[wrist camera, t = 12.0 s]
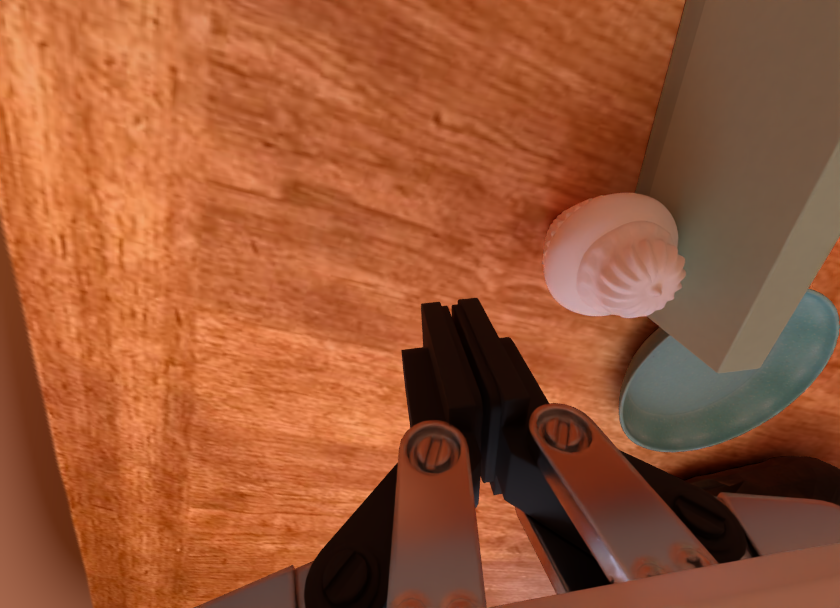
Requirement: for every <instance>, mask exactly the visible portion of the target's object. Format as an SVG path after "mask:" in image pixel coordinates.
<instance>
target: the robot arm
mask: <svg viewBox="0 0 840 608" xmlns="http://www.w3.org/2000/svg"><path fill="white" fill-rule="evenodd" d="M421 314H422V332H423V347H422V348H414V349H406V350H402V361H403V371H404V381H405V389H406V397H407V405H408V413H409V421H410V429H409V430H408V431H407V432H406V433H405V435H404V436H403V438H402V439H401V443H400V447H399V456H398V463H397V464H396V465H395V466H394V468H393V469H392V470H391V471H390V472H389V473H388V474H387V476H386V477H385V478H384V479H383V480H382V481H381V482H380V484H379V485H378V486H377V487H376V488H375V489H374V490H373V492H372V493H371V494H370V495H369V496H368V497H367V499H366V500H365V501H364V502H363V503H362V504H361V505H360V507H359V508H358V509H357V510H356V511H355V512H354V513H353V515H352V516H351V517H350V518H349V519H348V520H347V521H346V523H345V524H344V525H343V526H342V527H341V528H340V530H339V531H338V532H337V533H336V534H335V535H334V536H333V538H332V539H331V540H330V541H329V542H328V543H327V544H326V546H325V547H324V548H323V549H322V550H321V551H320V553H319V554H318V556H317V557H316V559H315V560H314V561H312V562H310V563H307V564H305V565H303V566H301V567H298V568H296V569H295V568H294V566H293V565H291V566H289V567H287V568H284V569H282V570H280V571H277V572H275V573H273V574H271V575H268V576H266V577H264V578H261V579H259V580H257V581H254V582H252V583H250V584H247V585H245V586H243V587H240V588H238V589H236V590H234V591H231V592H229V593H227V594H224V595H222V596H220V597H217V598H215V599H213V600H210V601H208V602H206V603H203V604H201V605H199V606H197V607H194V608H487V607H486V599H485V590H484V581H483V572H482V563H481V555H480V546H479V537H478V528H477V519H476V510H475V508H476V507H477V505H478V501H479V488H480V475H481V478H482V481H483V483H486V482H490V485H491V488H492V491H493V494H494V495H497V494H503V497H504V500H506V501H507V502H509V503H510V504H512V505H513V506H515V510H516V513H517V516H518V518H519V520H520V522H521V524H522V526H523V528H524V530H525V532H526V534H527V536H528V538H529V540H530V542H531V544H532V546H533V548H534V550H535V552H536V554H537V556H538V558H539V560H540V562H541V564H542V566H543V568H544V570H545V572H546V574H547V576H548V578H549V580H550V582H551V584H552V586H553V588H554V590H555V592H556V594H557V595H552V596H547V597H541V598H536V599H531V600H526V601H520V602H515V603H510V604H505V605H500V606H494V607H489V608H840V506H838V505H836V504H834V503H830V502H826V501H821V500H816V499H803V498H790V497H777V496H764V495H751V494H738V493H725V492H720V493H719V495H718V496H717V497H715V496H713V495H711V494H709V493H708V492H706V491H704V490H703V489H701V488H699V487H697V486H695V485H693V484H690V483H688V482H686V481H684V480H682V479H680V478H678V477H676V476H673V475H671V474H669V473H667V472H665V471H663V470H661V469H659V468H656V467H654V466H652V465H650V464H648V463H646V462H644V461H642V460H639V459H637V458H635V457H633V456H631V455H629V454H627V453H624V452H622V451H620V450H618V449H617V448H616V446H615V445H614V444H613V443H612V442H611V441H610V440H609V438H608V437H607V436H606V435H605V434H604V433H603V432H602V431H601V429H600V428H599V427H598V426H597V425H596V424H595V423H594V422H593V420H591V419H590V418H589V417H588V416H587V415H586V414H585V413H583V412H582V411H580V410H578V409H576V408H574V407H571V406H568V405H565V404H558V403H551V404H549V402H548V400H547V399H546V397H545V395H544V394H543V392H542V390H541V388H540V387H539V385H538V383H537V382H536V380H535V378H534V376H533V375H532V373H531V371H530V370H529V368H528V366H527V364H526V363H525V361H524V359H523V358H522V356H521V354H520V352H519V351H518V349H517V347H516V346H515V344H514V342H513V341H512V339H511V338H509V337H505V338H499V337H498V335H497V333H496V331H495V329H494V328H493V326H492V324H491V322H490V320H489V318H488V316H487V314H486V313H485V311H484V309H483V307H482V305H481V303H480V301H479V300H478V298H469V299H460V300H458V305H452V317H451V314H450V311H449V309H448V306H441V303H440V302H433V303H424V304H421Z"/></svg>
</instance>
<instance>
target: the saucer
mask: <svg viewBox="0 0 840 608" xmlns="http://www.w3.org/2000/svg"><path fill="white" fill-rule="evenodd" d="M839 329H840V325H839V316H838V313H837V309H836V308H835V306H834V304H833V303H832V302H831V301H830V300H829V299H828V298H827V297H826V296H824V295H823V294H821V293H819V292H817V291H815V290H811V289H807V291H806V293H805V294H804V296H803V298H802V299H801V301H800V303H799V304H798V306H797V308H796V309H795V311H794V313H793V314H792V316H791V318H790V319H789V321H788V322H787V324H786V326H785V327H784V329H783V331H782V332H781V334H780V336H779V337H778V339H777V341H776V342H775V344H774V346H773V347H772V349H771V351H770V352H769V354H768V355H767V357H766V359H765V360H764V362H763V364H762V365H761V367H760V368H758V369H751V370H743V371H735V372H727V373H717V372H715V371H714V370H713V369H712V368H710V367H709V366H708V365H707V364H705V363H704V362H703V361H702V360H700V359H699V358H698V357H697V356H695V355H694V354H693V353H692V352H690V351H689V350H688V349H687V348H685V347H684V346H683V345H682V344H681V343H679V342H678V341H677V340H676V339H674V338H673V337H672V336H671V335H669V334H668V333H667V332H666V331H664V330H663V329H662V328H661V327H659V328H658V329H657V330H656V331H655V332H654V333H652V334H651V335H650V336H649V337H648V338H647V339H646V341H645V342H644V343H643V344H642V345H641V347H640V348H639V349H638V351H637V352H636V353H635V355H634V357H633V358H632V360H631V362H630V364H629V366H628V369H627V371H626V374H625V376H624V379H623V383H622V386H621V390H620V397H619V419H620V424H621V427H622V429H623V431H624V433H625V434H626V436H627V437H628V438H629V439H630V440H631V441H632V442H634V443H635V444H637V445H639V446H641V447H643V448H646V449H649V450H653V451H659V452H679V451H680V452H684V451H692V450H698V449H702V448H706V447H711V446H714V445H717V444H720V443H723V442H725V441H728V440H731V439H733V438H735V437H738V436H740V435H742V434H745V433H746V432H748V431H750V430H752V429H754V428H756V427H758V426H760V425H761V424H763V423H765V422H766V421H768V420H769V419H771V418H772V417H774V416H775V415H777V414H778V413H780V412H781V411H783V410H784V409H785V408H786V407H787V406H789V405H790V404H791V403H792V402H793V401H795V400H796V399H797V398H798V397H799V396H800V395H801V394H802V393H804V392H805V390H806V389H807V388H808V387H809V386H810V385H811V384H812V383H813V382H814V380H815V379H816V378H817V377H818V375H819V374H820V373H821V372H822V371H823V369H824V367H825V366H826V365H827V363H828V360H829V359H830V357H831V355H832V353H833V351H834V348H835V347H836V343H837V339H838V336H839Z"/></svg>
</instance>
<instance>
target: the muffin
mask: <svg viewBox="0 0 840 608" xmlns="http://www.w3.org/2000/svg"><path fill="white" fill-rule="evenodd" d="M677 246H678V230H677V226H676V223H675V221H674V218H673V217H672V215H671V213H670V212H669V211H668V209H667V208H666V207H665V206H664V205H663V204H662V203H660V202H659V201H657V200H656V199H654V198H651V197H649V196H646V195H642V194H637V193H615V194H609V195H605V196H604V195H600V196H598V197H595V198H593V199H592V198H590V199H587V200H585V201H583V202H581V203H579V204H577V205H574V206H572V207H570V208H569V209H567V210H565V211H563V212H562V214H560V215H558V216H557V218H556V219H554V220H553V223H552V224H551V225H550V229H548V230H547V235H546V237H545V244H544V250H543V261H542V264H543V265H544V276H545V281H546V284H547V287H548V289H549V291H550V293H551V295H552V296H553V297H554V299H555V300H556V301H557V302H558V303H559V304H561V305H562V306H563V307H565V308H566V309H568V310H570V311H573V312H575V313H579V314H583V315H588V316H606V315H612V314H613V315H619V316H621V317H624V318H635V317H639V316H640V317H642V316H648V315H650V314H652V313H653V312H654V311H655V310H661V309H662V308H664V306H665V304H666V302H667V301H671V300H673V299H674V294H675V292H676V291H678V290H680V289H681V288H682V285H681V283H680V281H682V280H683V279H684V277H685V276H686V271H685V270H684V269H683V267H684V264H685V258H684V257H683V256H680V255H678V249H677Z"/></svg>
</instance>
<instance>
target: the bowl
mask: <svg viewBox="0 0 840 608" xmlns="http://www.w3.org/2000/svg"><path fill="white" fill-rule="evenodd" d="M686 482H688V483H690V484H693V485H695V486H697V487H699V488H701V489H703V490H704V491H706V492H708V493H709V494H711V495H713V496H715V497H717V496H718V495H719V493H720V492H725V493H738V494H751V495H764V496H777V497H790V498H803V499H816V500H821V501H826V502H830V503H834V504H836V505H838V506H840V469H838V468H837V467H835V466H833V465H831V464H829V463H826V462H824V461H821V460H819V459H817V458H811V457H799V456H782V457H776V458H775V457H774V458H771V459H769V460H766V461H764V462H761V463H759V464H754V465H746V466H743V467H740V468H735V469H729V470H726V471H722V472H718V473H715V474H710V475H703V476H697V477H693V478H691V479H688V480H686Z"/></svg>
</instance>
